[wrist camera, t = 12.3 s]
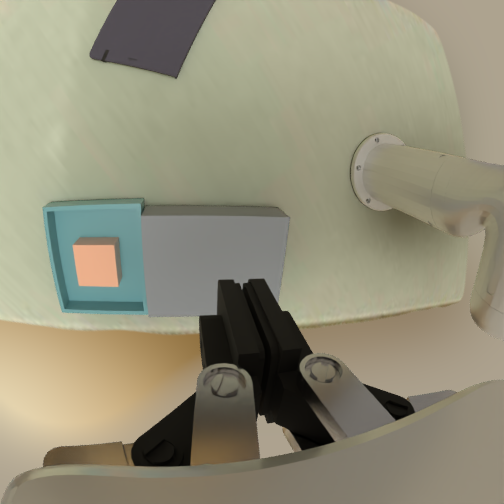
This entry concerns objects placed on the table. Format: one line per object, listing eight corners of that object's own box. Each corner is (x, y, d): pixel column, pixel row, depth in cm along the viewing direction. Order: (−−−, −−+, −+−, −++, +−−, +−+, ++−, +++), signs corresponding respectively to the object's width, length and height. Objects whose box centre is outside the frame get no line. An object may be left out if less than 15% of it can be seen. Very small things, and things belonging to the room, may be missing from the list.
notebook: (176, 79, 31) (237, -35, 25) (176, 77, 30) (239, -40, 23) (90, 60, 27) (157, -52, 21) (87, 57, 26) (157, -58, 19)
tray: (144, 198, 36) (140, 203, 33) (150, 303, 42) (148, 314, 39) (51, 201, 32) (42, 207, 30) (67, 301, 38) (62, 312, 36)
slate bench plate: (277, 207, 40) (289, 217, 36) (267, 294, 46) (276, 312, 41) (146, 205, 36) (141, 215, 32) (151, 297, 41) (148, 316, 37)
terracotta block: (72, 245, 32) (79, 237, 35) (79, 285, 35) (84, 276, 37) (114, 245, 34) (118, 237, 36) (118, 286, 36) (122, 276, 39)
